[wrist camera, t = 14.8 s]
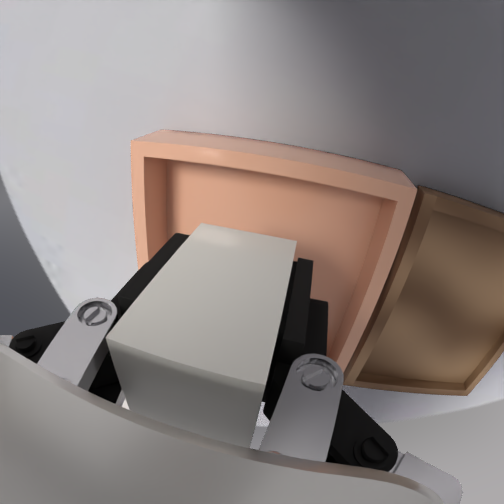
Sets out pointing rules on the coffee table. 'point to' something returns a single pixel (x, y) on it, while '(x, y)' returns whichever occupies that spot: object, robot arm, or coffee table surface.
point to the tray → (437, 302)
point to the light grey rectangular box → (206, 333)
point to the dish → (279, 212)
